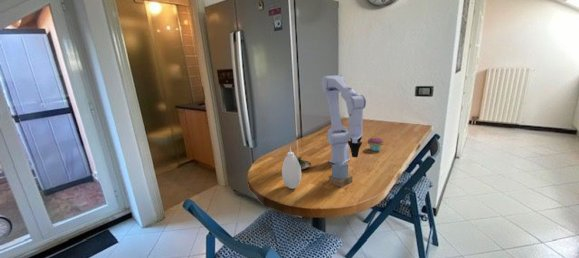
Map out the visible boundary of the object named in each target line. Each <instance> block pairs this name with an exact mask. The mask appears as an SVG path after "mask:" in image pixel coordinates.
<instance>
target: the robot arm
mask: <svg viewBox="0 0 579 258" xmlns="http://www.w3.org/2000/svg"><path fill="white" fill-rule="evenodd" d="M321 88H322V92H323V94H324V95H325V96H326V101H327V107H328V112H329V117H330V123H331V127H330V128H328V130H327V142H328V144H329V146H331V147H330V149H331V153H330V154H331V158H330V159H328V160H327V162H329V163H332V164H335V163H337V162H340V163H344V164H347V162H349V161H351V160H352V158H358V155H359V152H360V151H359V150H360V148H361V146H362V145H363V142H362V141H361V140H362V139H363V136H364V133H363V120H364V119H363V118H364V115H363V114H364V109H366V105H367V102H366V101H367V100H366V98H365V96H364V95H363V94H358V93H357V92H356V91H355V89H353V87H352V86H347V84H346V83H345V78H344V76H343V75H342V74H338V75H324V76H323V77H322V79H321ZM339 93H340V96H341V98H342V99H343V100H344V101H345V104H346V108H347V114H348V128H347V127H346V126H344V125H342V121H341V120H342V119H341V115H340V109H339V102H338V98H337V95H338V94H339ZM350 153H351V156H352V158H350Z"/></svg>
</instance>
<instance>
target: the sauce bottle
mask: <svg viewBox="0 0 579 258" xmlns="http://www.w3.org/2000/svg"><path fill="white" fill-rule="evenodd" d="M281 178H282V181H283V183H284V185H285V186H286V187H287V188H288V189H291V190H294V189H296V188H297V187H298V186H299V185H300V183H301V180H302V170H301V167H300V164H299V161H298V159H297V158H296V155H295V152H293V151H292V147H291V146H289V151H288V152H287V153H286V155H285V158H284V160H283V163H282V169H281Z"/></svg>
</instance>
